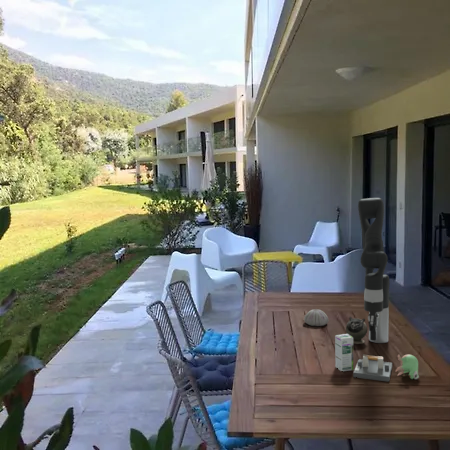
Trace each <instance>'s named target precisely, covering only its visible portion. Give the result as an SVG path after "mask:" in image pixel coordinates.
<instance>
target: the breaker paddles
mask: <svg viewBox="0 0 450 450" xmlns="http://www.w3.org/2000/svg"><path fill="white" fill-rule="evenodd" d="M362 359H363V367H368V360H372V361H378V368H380V369H383V362H384V356H379V355H378V356H375V355H368V354H362Z"/></svg>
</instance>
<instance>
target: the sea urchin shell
mask: <svg viewBox="0 0 450 450" xmlns="http://www.w3.org/2000/svg"><path fill="white" fill-rule="evenodd" d="M303 321H304V323H306V324H307V325H309V326H312V327H323V326H325V325H327V324H328V323H329V317H328V316H327V314H326V313H325V312H324V311H323V310H321V309H318V308H315V309H311V310H309V311H308V312H307V313H305V315H304V317H303Z"/></svg>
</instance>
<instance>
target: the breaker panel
mask: <svg viewBox="0 0 450 450" xmlns="http://www.w3.org/2000/svg"><path fill="white" fill-rule="evenodd" d="M392 369H393V362H389V361H388V362H387V361H383V369H380V368H378V360H371V359H368V367H363V358H359V359H358V360H357V363H356V365H355V368H354V369H353V372H352V373H353V374H352V376H353V378H356V377H357V378H359V379H364V380H365V379H366V380H374V381H380V382H381V381H382V382H390V379H391V375H392V374H391V373H392Z"/></svg>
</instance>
